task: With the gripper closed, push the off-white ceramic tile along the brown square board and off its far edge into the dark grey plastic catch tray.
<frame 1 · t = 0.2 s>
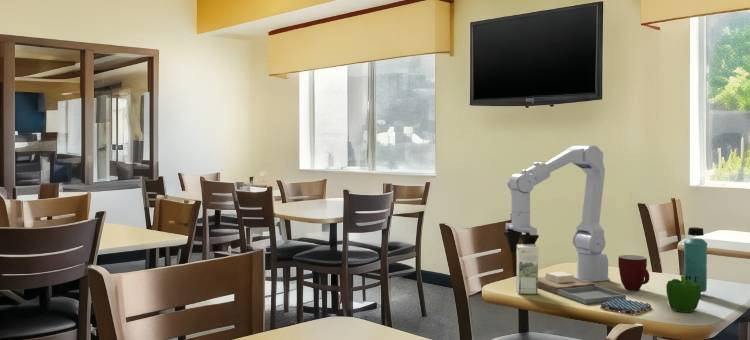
hand: (520, 254, 208), 10 cm above the table, tool pointing down, fingers open, 7 cm apart
bell pepper: (682, 311, 178), on the table
syrup box: (526, 293, 199), on the table
catch tray: (590, 297, 193), on the table
woven mat: (625, 311, 180), on the table
brown square board: (561, 287, 206), on the table
tile: (559, 280, 207), point 2 cm above the table, touching brown square board
mug: (635, 291, 201), on the table
beverage bottle: (694, 295, 195), on the table
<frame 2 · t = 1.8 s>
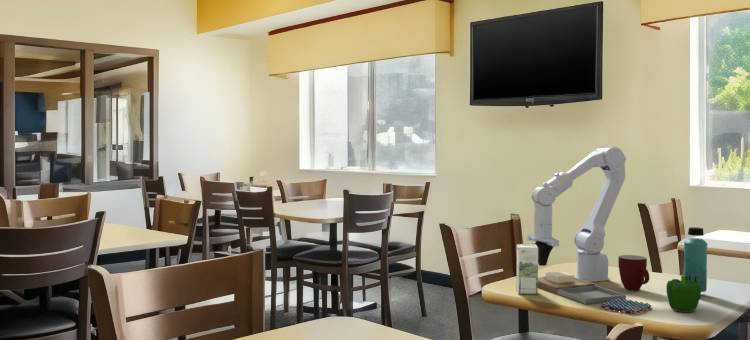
hand: (542, 265, 215), 5 cm above the table, tool pointing down, fingers closed
nothing on the table moved.
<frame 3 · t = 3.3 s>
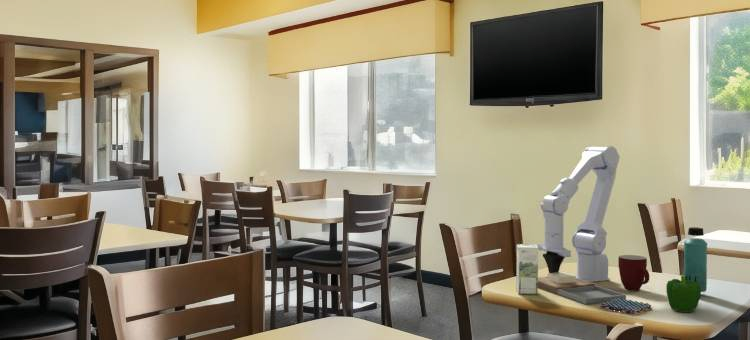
hand: (553, 276, 210), 3 cm above the table, tool pointing down, fingers closed
nothing on the table moved.
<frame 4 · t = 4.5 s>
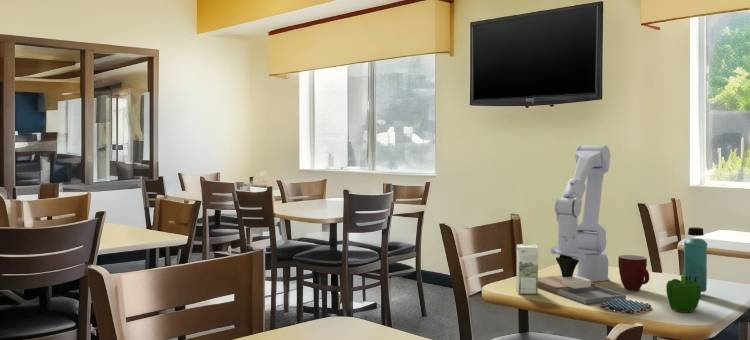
hand: (567, 280, 203), 3 cm above the table, tool pointing down, fingers closed
tile: (576, 285, 200), point 2 cm above the table, touching brown square board, gripper
everything else where it was.
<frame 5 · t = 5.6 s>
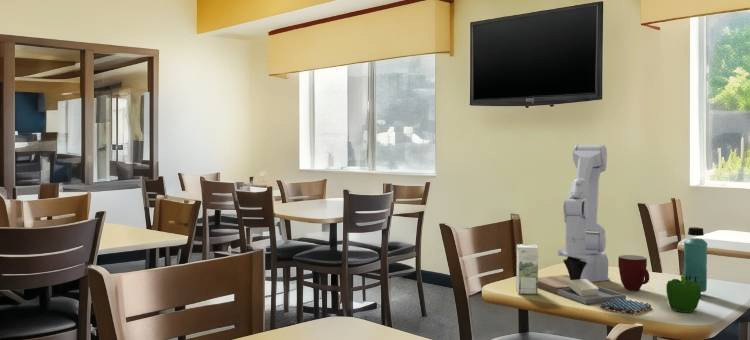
hand: (575, 282, 200), 3 cm above the table, tool pointing down, fingers closed
tile: (582, 290, 197), point 1 cm above the table, tilted 17°, touching brown square board, catch tray, gripper
everything else where it was.
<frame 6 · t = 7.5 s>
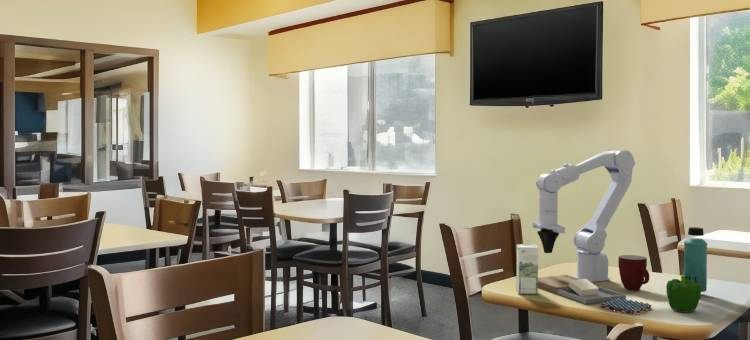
hand: (548, 252, 214), 9 cm above the table, tool pointing down, fingers closed
tile: (582, 290, 197), point 1 cm above the table, tilted 17°, touching brown square board, catch tray
everything else where it was.
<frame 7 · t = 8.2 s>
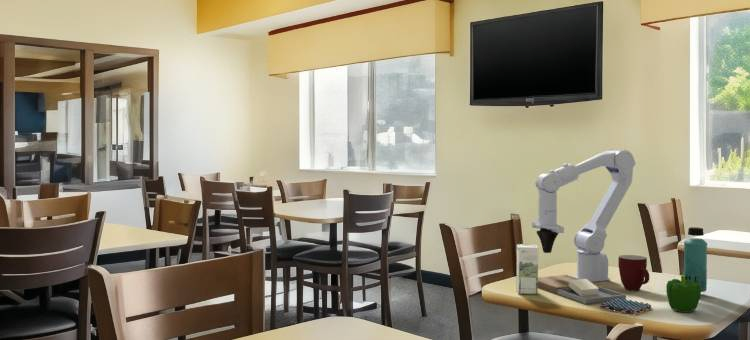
hand: (547, 252, 214), 9 cm above the table, tool pointing down, fingers closed
nothing on the table moved.
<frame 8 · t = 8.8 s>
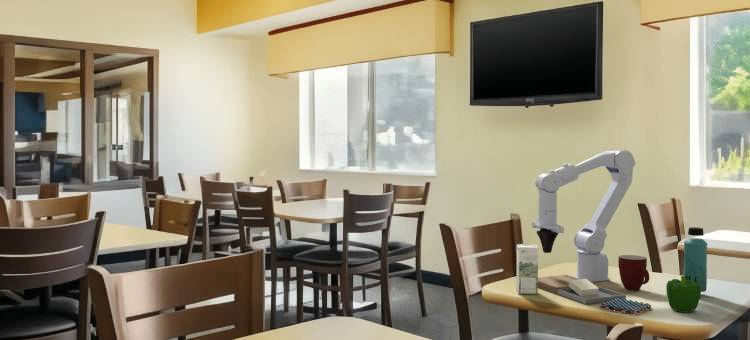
hand: (547, 252, 214), 9 cm above the table, tool pointing down, fingers closed
nothing on the table moved.
at the end: tile inside the target area (3.7 cm from its centre), point 1.2 cm above the table; tile touching brown square board, catch tray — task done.
